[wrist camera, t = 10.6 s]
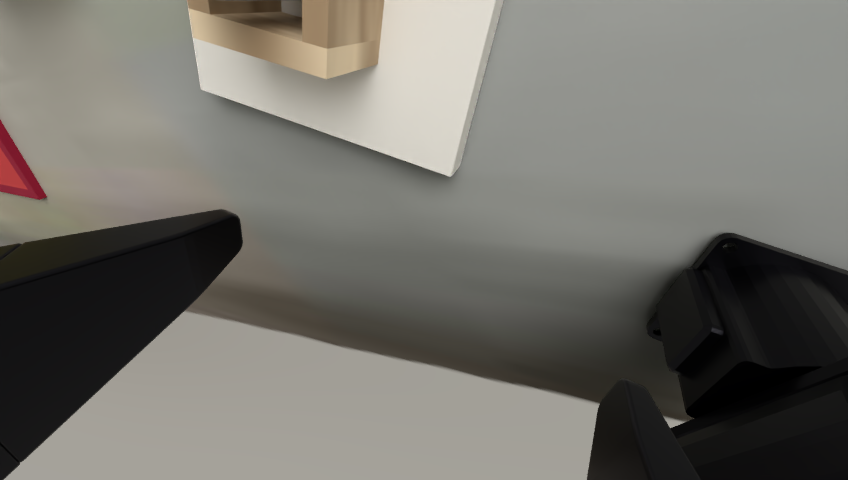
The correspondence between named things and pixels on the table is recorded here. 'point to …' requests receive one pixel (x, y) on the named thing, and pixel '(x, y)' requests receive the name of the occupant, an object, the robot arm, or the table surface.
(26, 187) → the red board with handle
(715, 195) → the table surface
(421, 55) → the post plate
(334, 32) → the collar
